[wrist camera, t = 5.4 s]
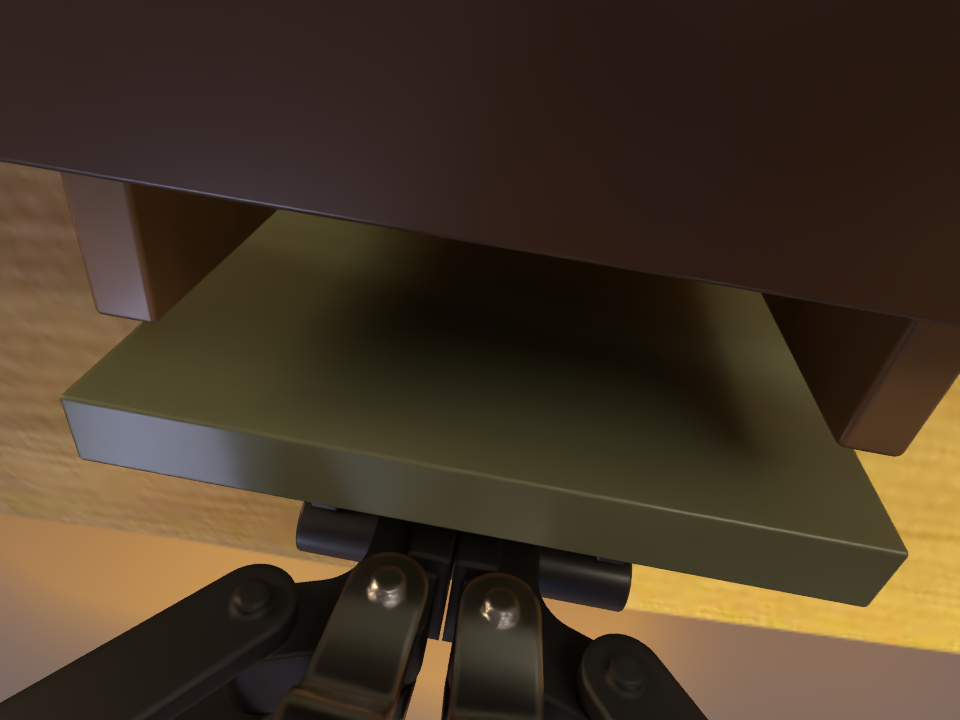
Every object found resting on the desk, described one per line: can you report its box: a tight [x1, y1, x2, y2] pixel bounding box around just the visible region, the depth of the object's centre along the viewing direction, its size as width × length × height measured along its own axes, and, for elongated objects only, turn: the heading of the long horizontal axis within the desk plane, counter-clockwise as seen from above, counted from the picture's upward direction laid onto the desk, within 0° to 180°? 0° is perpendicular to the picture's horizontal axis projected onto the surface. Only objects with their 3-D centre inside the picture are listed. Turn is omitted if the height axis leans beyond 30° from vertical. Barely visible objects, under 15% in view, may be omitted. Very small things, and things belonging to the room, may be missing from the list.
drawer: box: [60, 172, 960, 612], centre depth 10 cm, size 18×11×8 cm, turn 172°
